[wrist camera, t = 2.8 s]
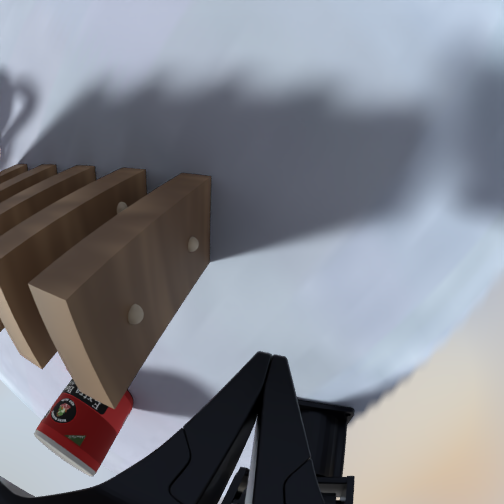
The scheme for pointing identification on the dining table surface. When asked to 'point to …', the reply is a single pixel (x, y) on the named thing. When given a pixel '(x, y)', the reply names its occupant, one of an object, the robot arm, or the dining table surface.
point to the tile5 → (12, 172)
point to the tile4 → (26, 180)
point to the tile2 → (55, 252)
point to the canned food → (82, 428)
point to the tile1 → (125, 285)
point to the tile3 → (42, 197)
